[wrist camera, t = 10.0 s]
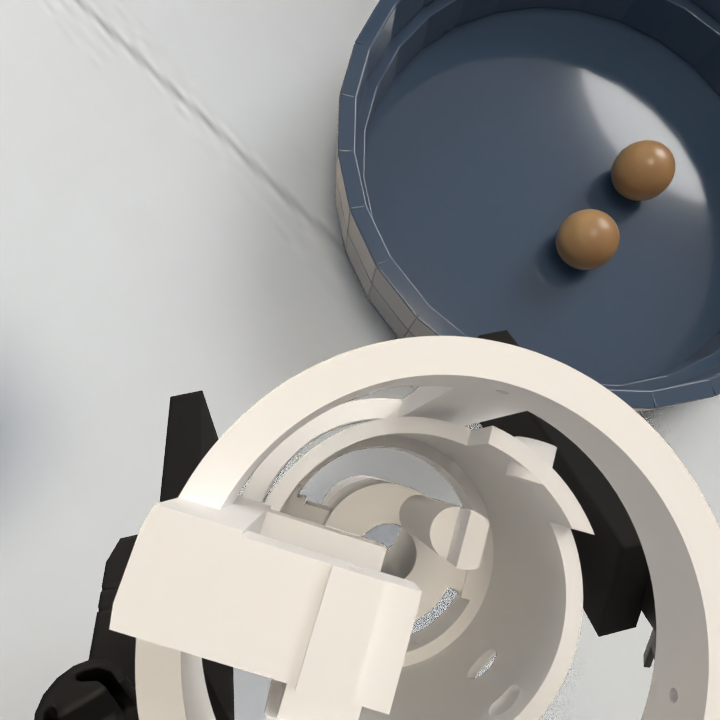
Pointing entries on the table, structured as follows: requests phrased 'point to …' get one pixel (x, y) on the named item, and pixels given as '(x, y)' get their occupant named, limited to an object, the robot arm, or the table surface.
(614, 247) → the brown egg
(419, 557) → the white cylindrical mechanical housing
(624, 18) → the round tray
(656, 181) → the brown egg
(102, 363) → the table surface
